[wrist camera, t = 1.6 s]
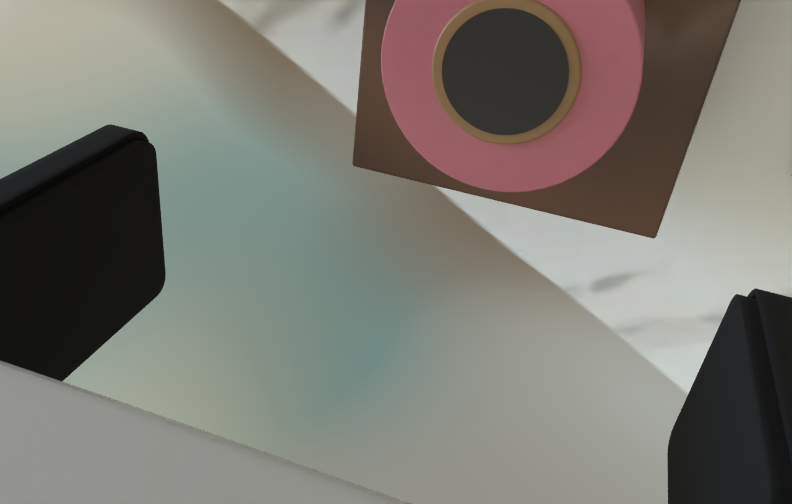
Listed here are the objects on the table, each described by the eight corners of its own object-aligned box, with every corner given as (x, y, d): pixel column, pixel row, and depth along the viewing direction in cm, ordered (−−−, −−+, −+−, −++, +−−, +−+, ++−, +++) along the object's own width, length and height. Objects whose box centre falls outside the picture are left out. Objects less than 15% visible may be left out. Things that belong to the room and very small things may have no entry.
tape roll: (444, -104, 20) (392, -91, 16) (676, -69, 19) (681, -45, 15) (416, 109, 24) (368, 164, 20) (611, 152, 23) (601, 220, 19)
